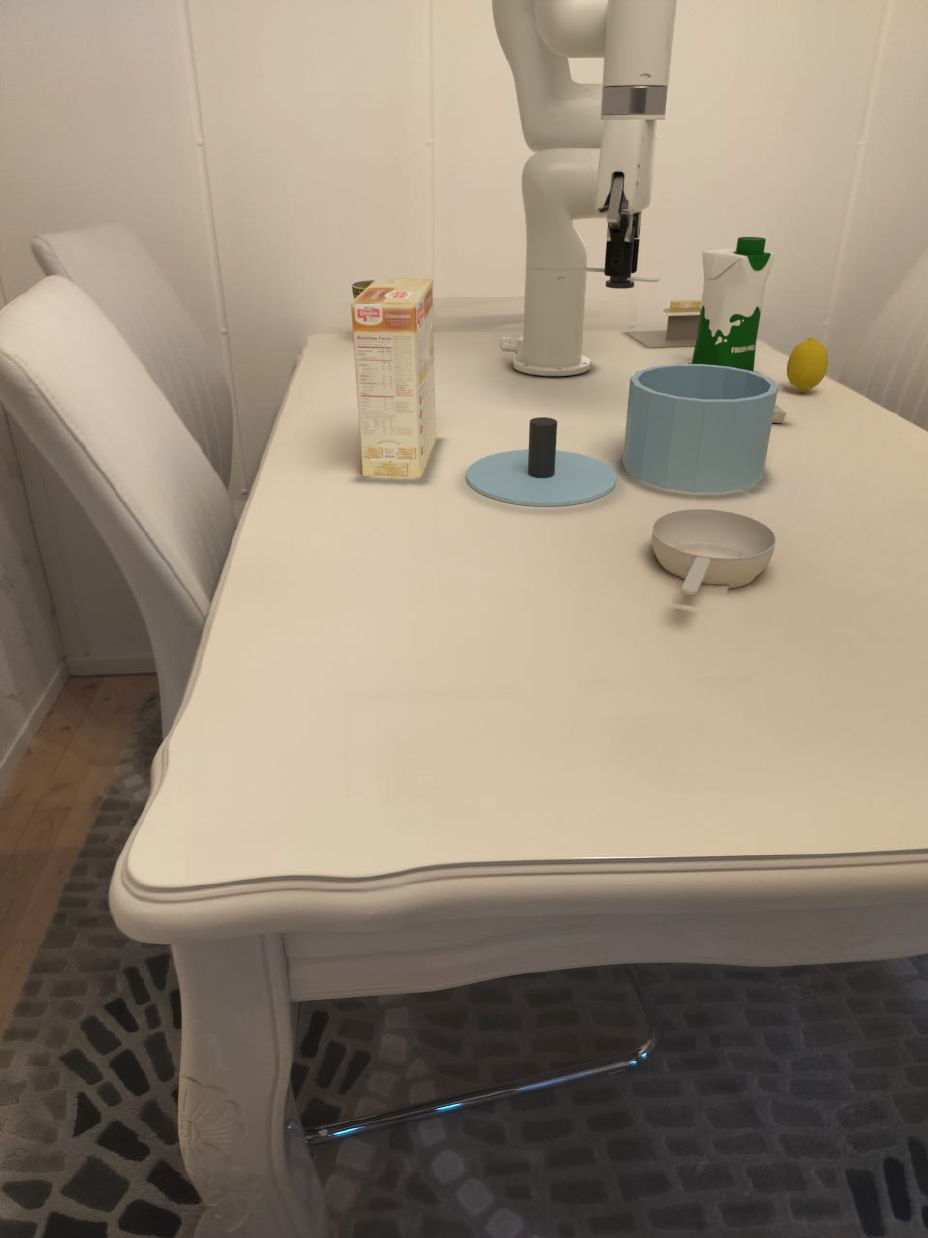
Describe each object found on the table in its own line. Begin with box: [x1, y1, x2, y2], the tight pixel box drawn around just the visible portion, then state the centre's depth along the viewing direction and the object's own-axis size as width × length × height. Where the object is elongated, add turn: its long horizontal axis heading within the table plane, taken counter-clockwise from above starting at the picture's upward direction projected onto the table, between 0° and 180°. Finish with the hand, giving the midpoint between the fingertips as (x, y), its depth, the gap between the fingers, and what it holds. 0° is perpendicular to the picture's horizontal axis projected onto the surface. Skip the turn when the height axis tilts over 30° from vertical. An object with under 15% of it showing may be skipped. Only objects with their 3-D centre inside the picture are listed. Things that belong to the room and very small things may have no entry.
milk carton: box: [690, 236, 776, 372], centre depth 137 cm, size 9×9×20 cm
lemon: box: [786, 337, 829, 394], centre depth 130 cm, size 6×6×8 cm
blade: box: [582, 225, 660, 290], centre depth 111 cm, size 10×4×7 cm, turn 67°
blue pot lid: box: [466, 416, 617, 507], centre depth 98 cm, size 17×17×7 cm
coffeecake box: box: [349, 277, 437, 479], centre depth 102 cm, size 15×7×20 cm, turn 174°
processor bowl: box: [622, 363, 780, 494], centre depth 100 cm, size 16×16×10 cm
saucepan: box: [651, 508, 777, 596], centre depth 77 cm, size 11×18×4 cm, turn 157°
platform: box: [627, 299, 701, 348], centre depth 162 cm, size 12×18×7 cm, turn 99°
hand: (620, 272), depth 112 cm, fingers closed on blade, 2 cm apart
